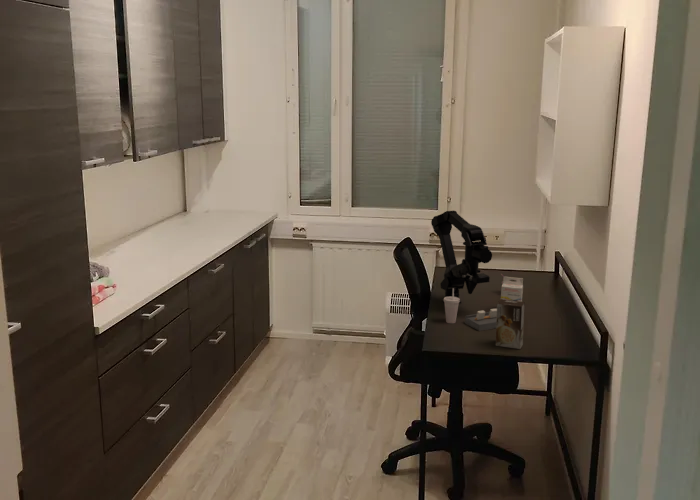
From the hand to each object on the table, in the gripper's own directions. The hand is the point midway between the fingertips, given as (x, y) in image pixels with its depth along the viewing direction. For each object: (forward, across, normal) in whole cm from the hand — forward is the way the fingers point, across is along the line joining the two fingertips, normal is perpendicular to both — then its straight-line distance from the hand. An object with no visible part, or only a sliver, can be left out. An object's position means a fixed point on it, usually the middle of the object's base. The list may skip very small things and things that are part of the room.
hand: (470, 293), depth 281 cm
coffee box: (+8, +38, -8) cm, 39 cm away
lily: (+8, -12, +29) cm, 33 cm away
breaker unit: (+8, +16, 0) cm, 18 cm away
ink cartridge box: (+8, +8, +15) cm, 19 cm away
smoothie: (+8, +8, -14) cm, 18 cm away
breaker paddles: (+5, +16, 0) cm, 17 cm away
